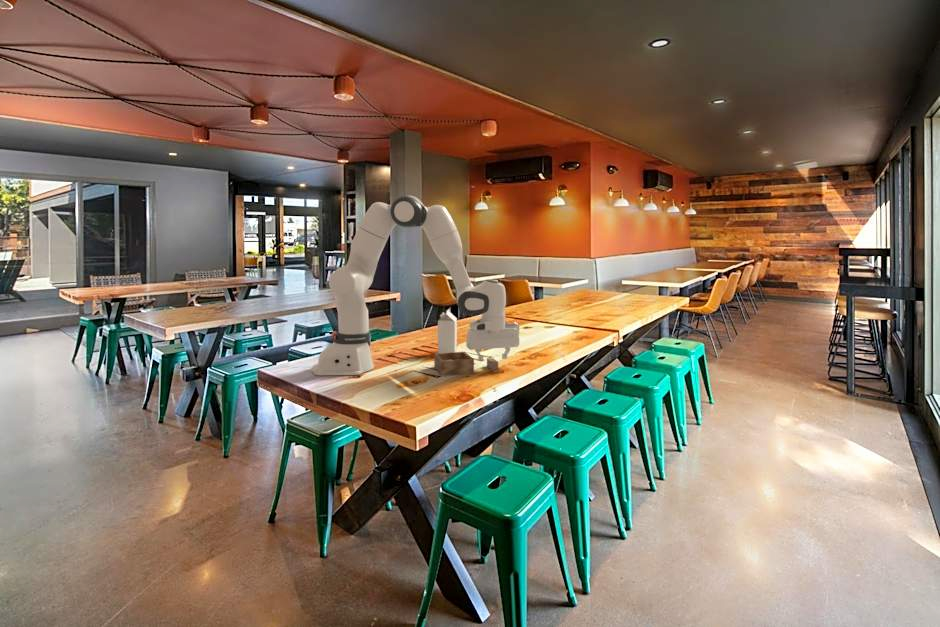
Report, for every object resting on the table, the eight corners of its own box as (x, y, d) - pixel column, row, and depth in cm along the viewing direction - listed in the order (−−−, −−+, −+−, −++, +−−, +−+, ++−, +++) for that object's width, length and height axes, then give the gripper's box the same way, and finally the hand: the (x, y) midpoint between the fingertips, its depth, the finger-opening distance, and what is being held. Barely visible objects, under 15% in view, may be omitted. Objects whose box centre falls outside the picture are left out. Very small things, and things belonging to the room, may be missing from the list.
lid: (481, 377, 178) (481, 365, 177) (471, 368, 190) (471, 357, 189) (513, 375, 181) (514, 363, 181) (502, 366, 193) (502, 355, 192)
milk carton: (456, 352, 211) (457, 309, 208) (454, 356, 204) (454, 311, 201) (440, 352, 212) (440, 308, 209) (437, 356, 205) (437, 311, 202)
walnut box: (441, 377, 175) (441, 361, 174) (434, 368, 186) (434, 353, 185) (473, 375, 178) (473, 359, 177) (464, 366, 190) (464, 351, 189)
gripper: (516, 320, 188) (515, 355, 191) (465, 323, 183) (464, 359, 185) (522, 323, 182) (521, 359, 185) (469, 326, 177) (469, 363, 179)
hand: (492, 359), depth 185 cm, fingers open, 8 cm apart
